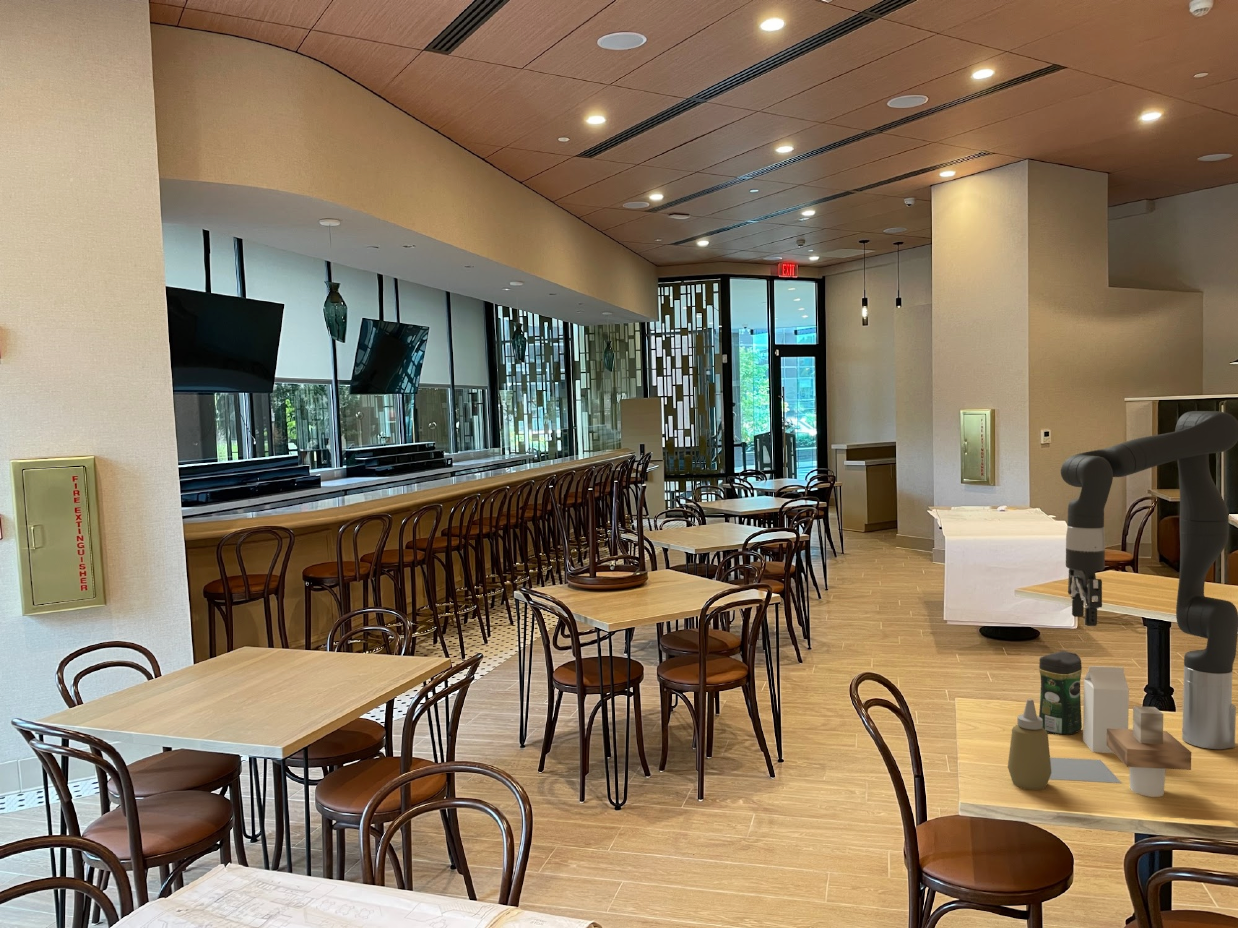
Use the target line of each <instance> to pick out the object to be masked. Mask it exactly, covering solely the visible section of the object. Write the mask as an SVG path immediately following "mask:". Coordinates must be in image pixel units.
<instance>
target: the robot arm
mask: <svg viewBox="0 0 1238 928" xmlns="http://www.w3.org/2000/svg"><path fill="white" fill-rule="evenodd" d="M1174 429H1175V430H1174V431H1171V432H1166V433H1161V434H1155V435H1148V436H1144V437H1143V436H1142V437H1138V438H1134V439H1131V440H1127V441H1123V442H1121V443H1119V444H1116V445H1115V444H1114V445H1112V446H1109V447H1107V448H1099V449H1096V450H1089V451H1085V452H1079V453H1077V454H1073V455H1071V456H1070V457H1068V458H1067V459H1065V460H1064V461H1063V463H1062V464H1061V467H1060V475H1061V478H1062V480H1063V481H1064V482H1065V483H1066V484H1068V485H1069V486H1071V487H1075V488H1081V489H1080V490H1081V491H1080V493H1079V497H1078V498H1074V499H1072V500H1070V501H1069V502H1068V505H1067V506H1068V507H1067V529H1066V536H1065V567H1066V568H1067V569H1068V583H1067V587H1068V588H1067V589H1068V590H1067V594H1068V595H1069V596H1070V597H1069V598H1070V599H1071V615H1072V616H1073V617H1074V618H1083V617H1084V625H1086V626H1087V627H1088V626H1089V627H1096V626H1097V625H1098V609H1099V608H1102V607H1103V580H1102V579H1101V578H1097V576H1096V572H1101V571H1104V570H1105V565H1106V563H1105V561H1106V559H1105V555H1106V533H1105V507H1106V504H1107V502H1108V499H1109V498H1108V497H1109V495H1110V492H1111V491H1110V490H1111V488H1112V484H1113V479H1114V478H1124V477H1127V476H1130V475H1133V474H1136V473H1139V472H1142V471H1145V470H1148V469H1151V468H1154V467H1157V466H1161V465H1164V464H1167V463H1171V462H1174V461H1177V468H1178V482H1179V543H1180V545H1179V549H1180V553H1179V575H1178V576H1179V578H1178V587H1177V588H1178V589H1177V597H1176V609H1175V610H1176V611H1175V616H1176V623H1177V626H1178V628H1179V629H1180V631H1181V632H1183V633H1184V634H1187V635H1191V636H1194V637H1199V638H1203V639H1207V640H1206V641H1207V642H1206V647H1205V648H1204V649H1196V650H1195V649H1194V650H1189V651H1188V652H1185V654H1184V658H1183V688H1182V689H1183V692H1182V693H1183V695H1182V699H1183V700H1182V728H1181V731H1182V733H1181V735H1182V737H1181V739H1182V741H1184V742H1185V743H1188V744H1190V745H1192V746H1195V747H1200V748H1202V749H1203V748H1204V749H1209V750H1227V749H1230V748H1232V749H1233V748H1235V747H1236V719H1237V718H1236V717H1237V716H1236V714H1237V707H1236V705H1235V704H1233V700H1232V699H1233V671H1234V670H1233V668H1234V663H1235V659H1236V656H1237V644H1238V609H1237V607H1236V605H1235V604H1234V603H1233V602H1231V601H1229V600H1226V599H1220V598H1215V597H1210V596H1205V584H1206V582H1205V581H1206V577H1207V575H1208V572H1209V570H1210V569H1211V567H1212V566H1213V564H1214V563H1215V561H1217V559H1218V557H1220V555H1221V554H1222V553H1223V551H1224V550H1225V548H1226V547H1227V544H1228V541H1229V531H1230V530H1229V527H1230V526H1229V525H1230V523H1229V521H1230V520H1229V511H1228V506H1227V505H1226V502H1225V501H1224V498H1223V497H1222V494H1221V493H1220V490H1219V489H1218V487H1217V486H1216V483H1215V481H1214V479H1213V478H1212V477H1213V476H1212V474H1211V471H1210V461H1209V459H1210V458H1209V456H1210V455H1209V454H1217V453H1223V452H1224V453H1225V452H1226V451H1228V450H1231V449H1232V448H1233V447H1234V446H1235V445H1236V444H1237V443H1238V419H1237V418H1236V417H1235V416H1233V415H1232V414H1230V413H1228V412H1223V411H1216V410H1212V411H1210V410H1209V411H1207V410H1206V411H1205V410H1203V411H1202V410H1193V411H1187V412H1184V413H1183V414H1182V415H1181V416H1180V417H1179V418H1178V420H1177V422H1176V425H1175V428H1174Z"/></svg>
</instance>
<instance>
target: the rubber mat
mask: <svg viewBox="0 0 1238 928" xmlns="http://www.w3.org/2000/svg"><path fill="white" fill-rule="evenodd" d="M1050 762H1051V772H1052V773H1051V776H1050V778H1049V780H1055V781H1057V780H1059V781H1073V782H1075V781H1076V782H1092V783H1109V784H1110V783H1111V784H1112V783H1113V784H1122V782H1121V780H1120V779H1119V778H1118V777H1117V776H1116V775H1115V774H1114V773H1113V772H1112V770H1110V768H1109V767H1108V766H1107V765H1106V764H1105V763H1104V762H1103V760H1101V759H1091V758H1090V759H1087V758H1070V757H1053V756H1052V757H1051V756H1050Z"/></svg>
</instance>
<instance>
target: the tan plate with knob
mask: <svg viewBox="0 0 1238 928" xmlns="http://www.w3.org/2000/svg"><path fill="white" fill-rule="evenodd" d="M1107 746H1108V747H1109V748H1110V749H1111V750H1112V751H1113V753H1112V754H1114V755H1115V756H1116V757H1117V758H1118V759H1119V760H1120V761H1121V762H1122V763H1123V764H1124V765H1125V766H1126V767H1128V768H1129V767H1141V768H1160V769H1166V770H1178V771H1179V770H1180V771H1181V770H1182V771H1183V770H1184V771H1191V770H1192V751H1191V750H1189V749H1188V748H1187V746H1185V745H1184V744H1182V743H1181V742H1180V741H1179V740H1178V739H1176V738H1175V737H1174V736H1173V735H1172V734H1171V733H1170V732H1168V731H1167V730H1164V713H1163V712H1162V711H1161V710H1159V709H1158V708H1157V707H1155V706H1137V705H1133V707H1132V729H1131V728H1130V729H1129V728H1128V729H1108V728H1107Z"/></svg>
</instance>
